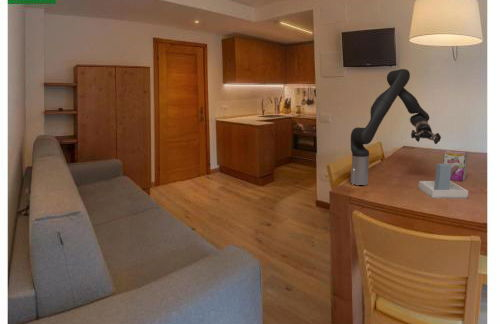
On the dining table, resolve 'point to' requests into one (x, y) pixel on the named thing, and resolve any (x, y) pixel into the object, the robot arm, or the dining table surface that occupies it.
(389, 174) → the dining table surface
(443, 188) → the slate block
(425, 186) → the tray
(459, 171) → the candy bar box
